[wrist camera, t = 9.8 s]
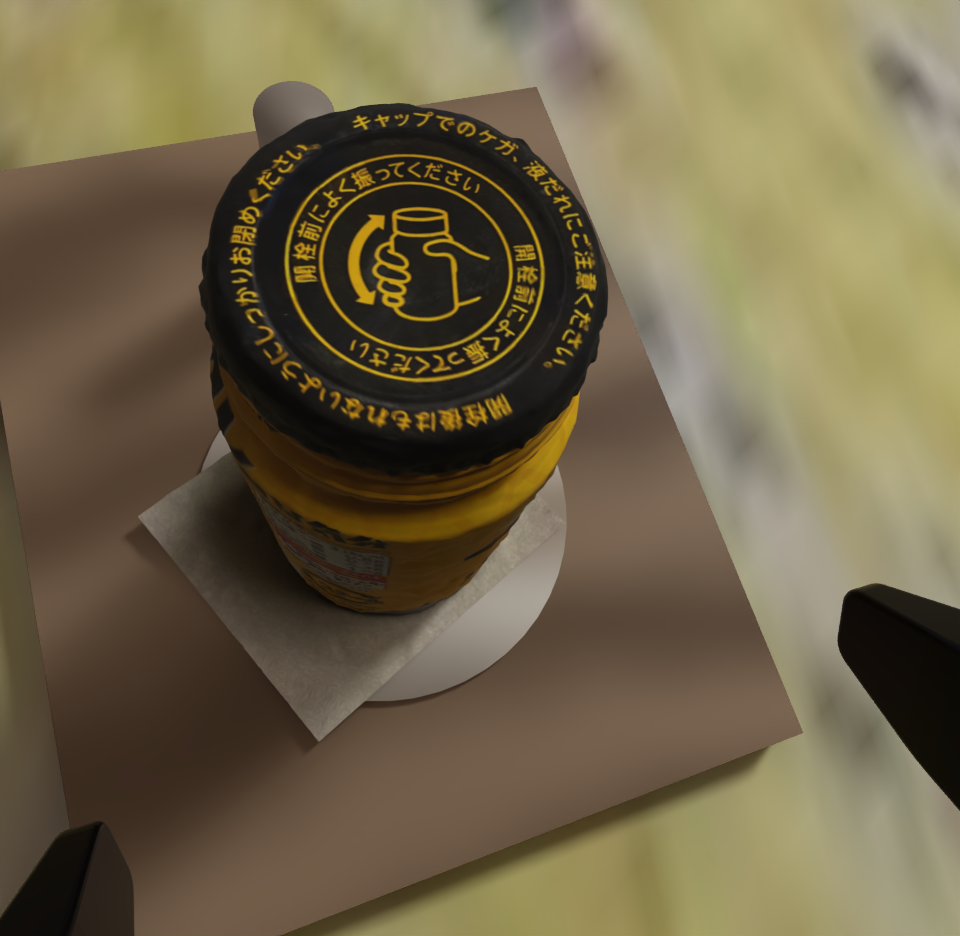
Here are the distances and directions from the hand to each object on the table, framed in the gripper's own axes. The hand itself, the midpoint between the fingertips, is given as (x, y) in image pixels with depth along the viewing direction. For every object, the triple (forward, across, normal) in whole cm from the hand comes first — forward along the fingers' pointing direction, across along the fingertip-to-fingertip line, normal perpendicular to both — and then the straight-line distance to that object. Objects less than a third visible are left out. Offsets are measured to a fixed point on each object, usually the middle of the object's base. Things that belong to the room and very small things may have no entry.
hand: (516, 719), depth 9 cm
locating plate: (+14, 0, +3) cm, 15 cm away
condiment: (+12, +1, +4) cm, 12 cm away
